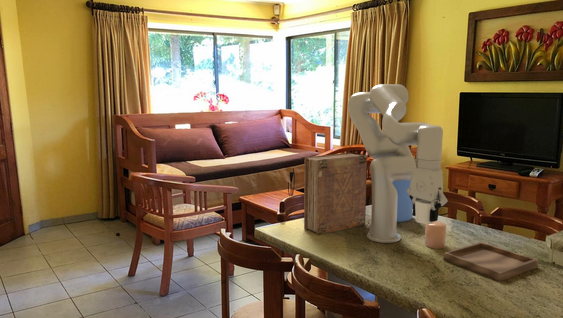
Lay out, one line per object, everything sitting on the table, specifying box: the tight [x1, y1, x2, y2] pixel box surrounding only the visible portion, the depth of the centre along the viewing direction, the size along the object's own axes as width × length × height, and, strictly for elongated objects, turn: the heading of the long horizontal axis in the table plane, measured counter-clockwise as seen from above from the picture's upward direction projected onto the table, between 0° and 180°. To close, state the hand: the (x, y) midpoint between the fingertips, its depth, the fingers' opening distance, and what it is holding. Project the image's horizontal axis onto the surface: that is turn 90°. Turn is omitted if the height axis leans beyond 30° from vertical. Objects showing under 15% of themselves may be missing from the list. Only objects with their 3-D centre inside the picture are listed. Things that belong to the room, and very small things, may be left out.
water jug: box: [392, 179, 414, 223], centre depth 194 cm, size 16×16×28 cm
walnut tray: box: [443, 241, 539, 282], centre depth 142 cm, size 20×20×2 cm
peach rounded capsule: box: [424, 221, 447, 250], centre depth 159 cm, size 7×7×8 cm
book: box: [303, 152, 368, 236], centre depth 180 cm, size 25×9×30 cm, turn 122°
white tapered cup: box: [415, 199, 436, 225], centre depth 142 cm, size 7×7×7 cm
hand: (424, 217), depth 142 cm, fingers closed on white tapered cup, 6 cm apart
